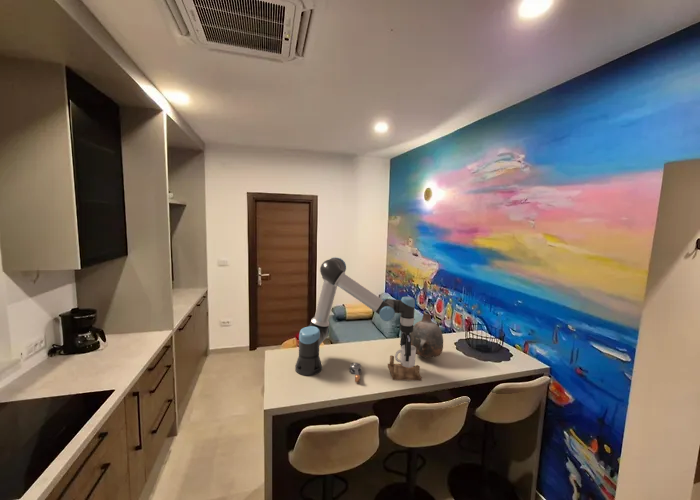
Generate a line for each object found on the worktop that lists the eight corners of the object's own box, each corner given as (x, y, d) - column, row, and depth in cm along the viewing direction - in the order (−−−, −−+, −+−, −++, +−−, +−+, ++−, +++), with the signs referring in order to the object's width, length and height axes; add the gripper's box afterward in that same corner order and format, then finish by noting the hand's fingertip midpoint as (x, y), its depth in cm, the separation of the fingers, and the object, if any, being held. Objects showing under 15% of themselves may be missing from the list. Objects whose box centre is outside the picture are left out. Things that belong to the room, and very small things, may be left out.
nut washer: (349, 374, 172) (349, 372, 172) (349, 368, 179) (349, 366, 179) (362, 374, 172) (362, 372, 172) (360, 368, 179) (360, 366, 179)
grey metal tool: (351, 382, 162) (352, 375, 161) (349, 367, 178) (350, 361, 178) (363, 382, 162) (363, 375, 162) (360, 367, 179) (360, 361, 178)
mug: (396, 368, 171) (397, 350, 170) (392, 361, 179) (393, 344, 178) (417, 367, 173) (418, 350, 172) (411, 361, 181) (412, 344, 180)
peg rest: (392, 379, 168) (393, 367, 167) (387, 365, 184) (388, 354, 183) (421, 380, 169) (422, 368, 168) (413, 366, 185) (414, 355, 184)
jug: (447, 366, 186) (451, 318, 184) (412, 365, 186) (415, 317, 183) (435, 349, 211) (439, 307, 208) (404, 348, 211) (407, 306, 208)
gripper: (418, 330, 163) (415, 371, 166) (408, 318, 184) (406, 354, 186) (404, 330, 163) (402, 371, 165) (396, 318, 184) (394, 354, 186)
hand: (404, 362), depth 176 cm, fingers closed on mug, 8 cm apart
